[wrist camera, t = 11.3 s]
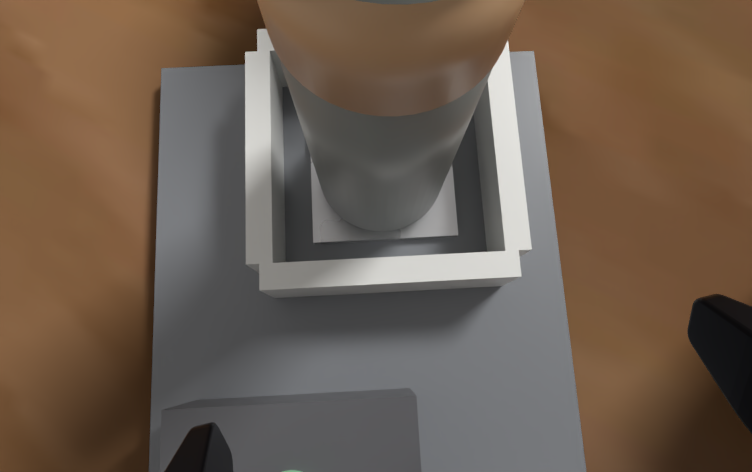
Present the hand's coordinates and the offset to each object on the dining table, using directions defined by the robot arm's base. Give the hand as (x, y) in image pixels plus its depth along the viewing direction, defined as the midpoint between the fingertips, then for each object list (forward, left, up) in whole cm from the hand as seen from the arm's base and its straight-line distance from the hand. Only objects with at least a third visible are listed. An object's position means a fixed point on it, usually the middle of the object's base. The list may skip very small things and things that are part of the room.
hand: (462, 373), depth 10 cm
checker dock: (+2, +2, -9) cm, 9 cm away
